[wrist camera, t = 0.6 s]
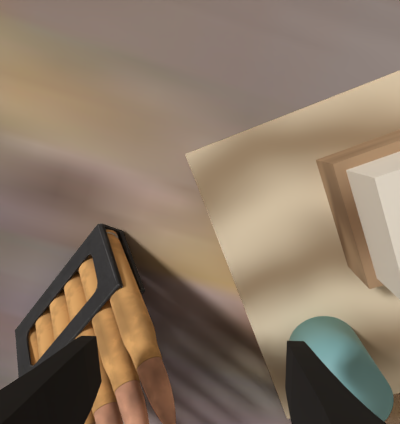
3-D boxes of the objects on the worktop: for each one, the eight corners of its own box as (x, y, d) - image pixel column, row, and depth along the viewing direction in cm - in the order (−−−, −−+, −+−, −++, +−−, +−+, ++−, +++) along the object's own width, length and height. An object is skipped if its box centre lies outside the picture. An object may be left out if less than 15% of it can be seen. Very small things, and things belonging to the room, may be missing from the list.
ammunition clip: (99, 221, 20) (172, 420, 12) (123, 230, 21) (203, 414, 13) (14, 331, 22) (24, 558, 14) (40, 332, 23) (63, 541, 15)
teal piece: (365, 365, 21) (402, 426, 16) (299, 381, 21) (318, 444, 17) (347, 307, 20) (381, 355, 16) (279, 326, 21) (293, 377, 16)
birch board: (520, 353, 21) (532, 362, 20) (285, 409, 23) (287, 418, 22) (460, 46, 17) (471, 42, 16) (186, 153, 19) (185, 154, 19)
